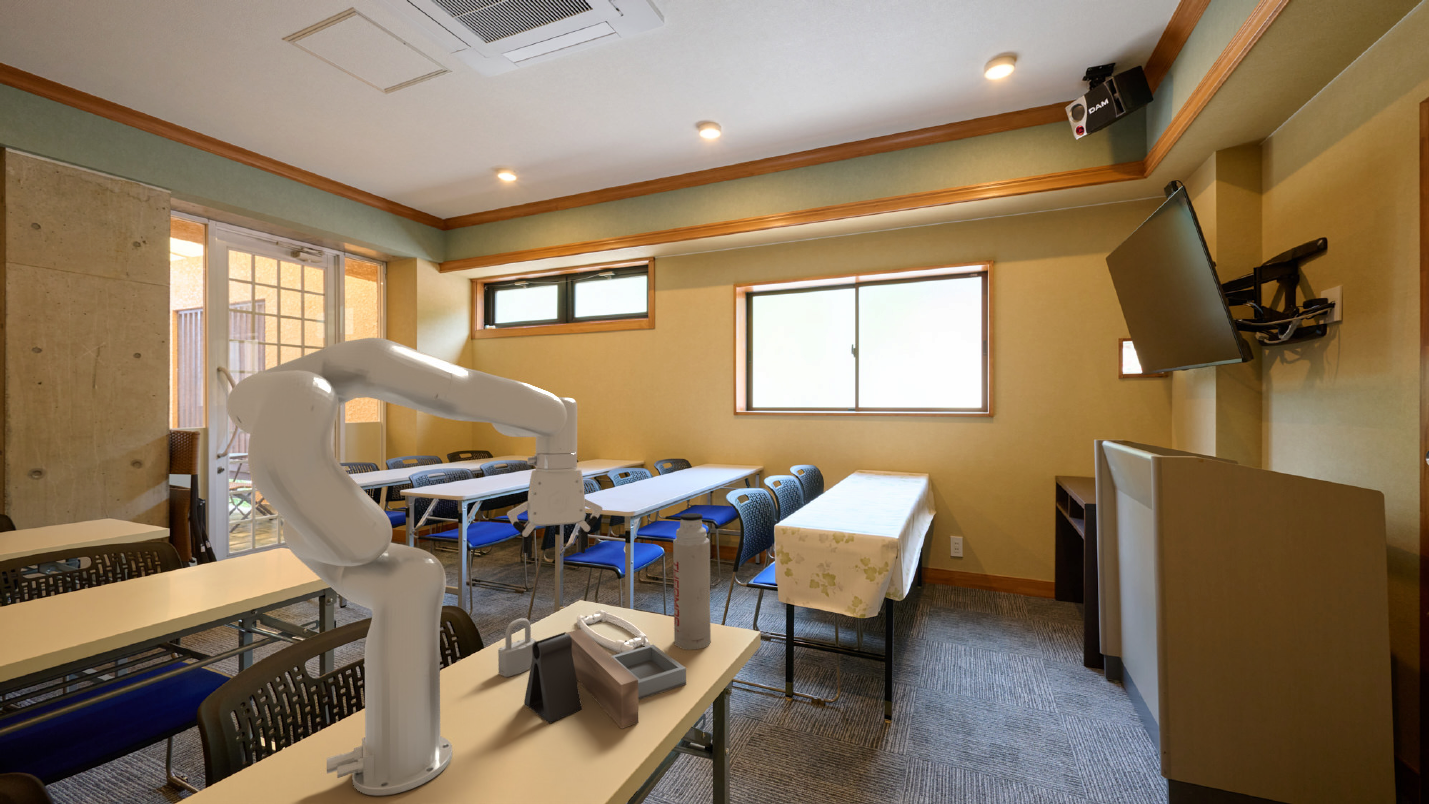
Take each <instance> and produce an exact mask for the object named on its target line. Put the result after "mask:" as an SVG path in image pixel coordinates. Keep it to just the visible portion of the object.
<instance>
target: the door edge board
mask: <svg viewBox="0 0 1429 804" xmlns="http://www.w3.org/2000/svg"><path fill="white" fill-rule="evenodd" d="M568 633H569V635H570V637H571V640H572V657H573V662H574V668H575V673H576V678H577V682H579V684H580V685H582V686H583V688H584V689H585V690H586V691H587V692H588V693H589V694H590V695H591V696H592V698H593V699H594V700H595V701H596V702H597V703H598V704H599V706H600V707H601V708H602V709H603V710H604V711H605V712H606V713H607V714H608V715H609V717H610V718H612V720H613V721H614V722H615V723H616V724H617V725H618V726H619V727H620V729H624V728H627V727H630V726H633V725H635V724H638V723H639V700H638V679H637V678H635V677H634V676H633V675H632V674H631V673H630V672H629V671H628V670H626V669H625V668H624V667H623V666H622V665H621V664H620V663H618V662H617V661H616V660H615V659H614V658H613V657H612V656H613V655H612V654H609V652H607V651H606V650H605V649H604V648H603V647H601V645H600V644H598V643H596V642H595V641H594V640H592V639H591V638H590V637H589V636H588V635H587V634H586V633H584V632H583V631H582V629H581V628H578V629H576V630H572V631H567V632H566V634H568Z"/></svg>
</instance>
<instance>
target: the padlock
mask: <svg viewBox="0 0 1429 804" xmlns="http://www.w3.org/2000/svg"><path fill="white" fill-rule="evenodd" d="M519 625H523V626H524V639H520V640H516V641H513V640H512V639H513V638H512V633H513V629H514V628H515V627H517V626H519ZM531 626H532V625H531V623H530V620H529V619H527V618H524V617H521V618H517V619H515V620H513V621H511V622H510V623H509V624H508V625H507V627H506V630H505V645H504V646H501V647H500V648H498V651H497V653H498V654H497V655H498V657H497V659H498V662H497V663H498V665H497V666H498V674H500V675H501V676H502V677H504V678H509V677H512V676H515V675H519V674H521V673H525V672H527V671H528V670H530V668H531V663H532V645H533V643H534V642H537V641H538V640H536V639H534V638H532V635H531V634H532V630H531V629H532V627H531ZM512 641H513V642H512Z"/></svg>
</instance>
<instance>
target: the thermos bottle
mask: <svg viewBox="0 0 1429 804" xmlns="http://www.w3.org/2000/svg"><path fill="white" fill-rule="evenodd" d="M679 518H680V521H679V524H680V525H679V528H677V529H676V533H675V535H676V536H675V537H676V538H674V539H673V542H672V543H673V544H672V546H673V547H672V548H673V550H672V551H673V619H674V620H673V629H674V630H673V631H674V632H673V635H674V636H673V637H674V645H675V644H676V645H675V646H676V647H677V646H679V647H681V648H680V649H683V648H684V649H683V650H690V649H693V650H699V648H701V649H704V648H706V647H707V646H709V645H710V644H711V643H712V642H711V641H712V639H711V638H712V637H711V635H712V634H711V630H712V629H711V571H710V570H711V565H710V564H711V559H710V558H711V557H710V556H711V555H710V547H711V546H710V539H709V538H708V537H707V536H708V534H707V529H706V528H705V527H704V526H703V521H702V519H703V514H702V513H696V512H695V513H694V512H693V513H692V512H689V513H683V514H681V515H680V516H679ZM705 646H706V647H705ZM679 647H678V648H679ZM703 647H704V648H703Z"/></svg>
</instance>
